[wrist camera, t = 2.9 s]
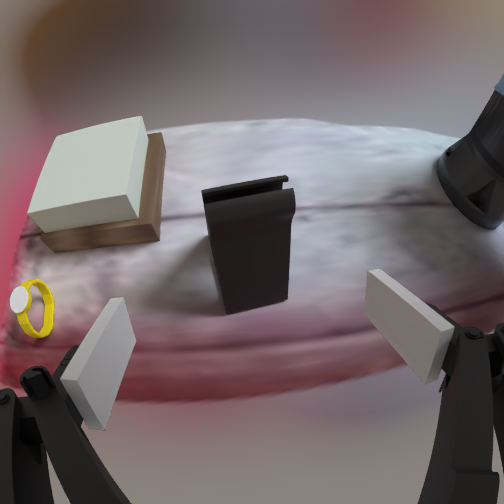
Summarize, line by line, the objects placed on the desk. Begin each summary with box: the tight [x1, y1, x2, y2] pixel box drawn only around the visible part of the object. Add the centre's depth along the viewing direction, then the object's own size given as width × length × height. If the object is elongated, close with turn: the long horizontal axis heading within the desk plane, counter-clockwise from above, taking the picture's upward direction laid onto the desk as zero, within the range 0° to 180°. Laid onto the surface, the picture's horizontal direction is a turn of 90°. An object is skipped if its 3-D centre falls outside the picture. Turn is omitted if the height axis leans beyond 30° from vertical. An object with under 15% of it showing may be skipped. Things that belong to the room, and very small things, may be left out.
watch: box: [10, 279, 54, 338], centre depth 24 cm, size 6×3×6 cm, turn 9°
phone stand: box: [201, 175, 296, 314], centre depth 24 cm, size 9×6×12 cm, turn 14°
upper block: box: [27, 116, 149, 233], centre depth 28 cm, size 12×12×4 cm
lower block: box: [40, 132, 166, 253], centre depth 32 cm, size 14×14×4 cm
